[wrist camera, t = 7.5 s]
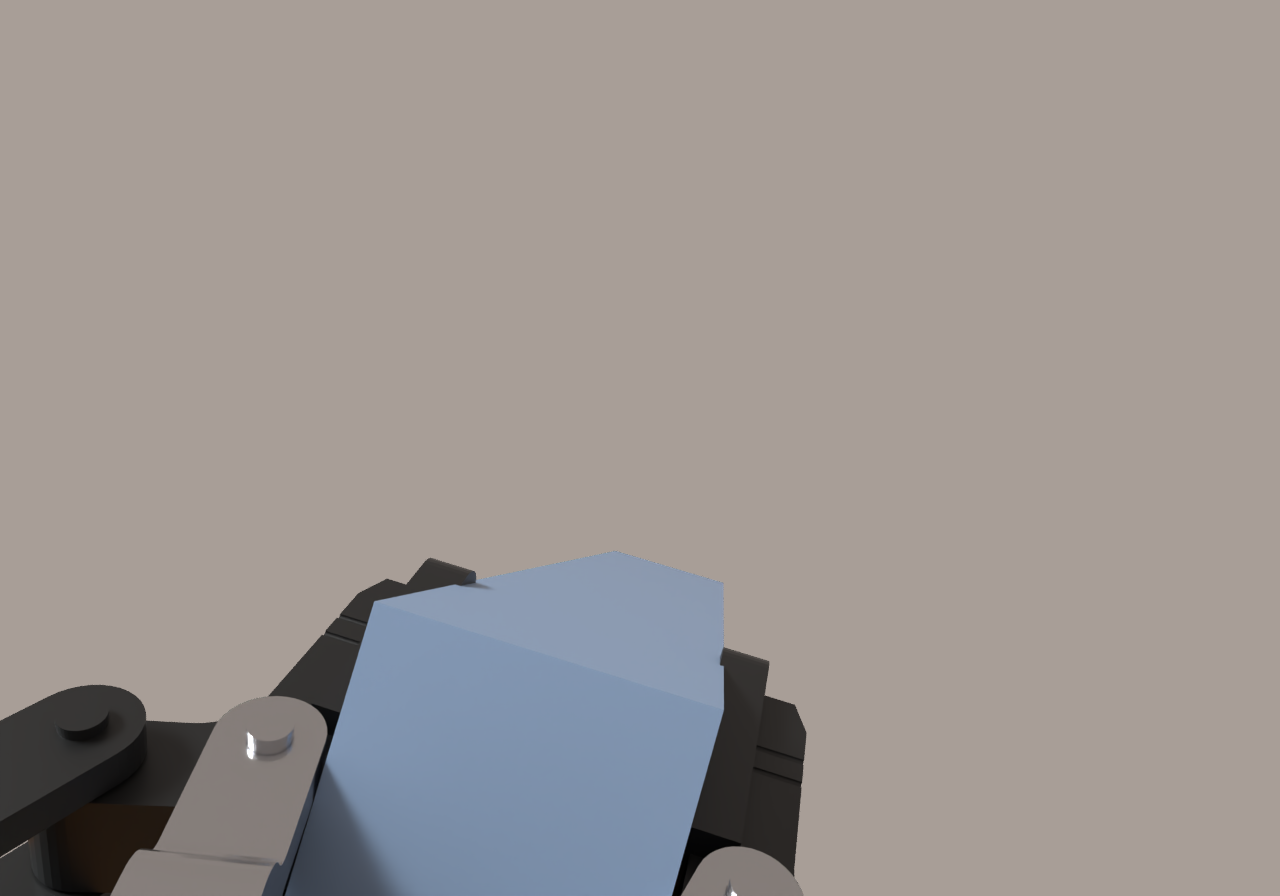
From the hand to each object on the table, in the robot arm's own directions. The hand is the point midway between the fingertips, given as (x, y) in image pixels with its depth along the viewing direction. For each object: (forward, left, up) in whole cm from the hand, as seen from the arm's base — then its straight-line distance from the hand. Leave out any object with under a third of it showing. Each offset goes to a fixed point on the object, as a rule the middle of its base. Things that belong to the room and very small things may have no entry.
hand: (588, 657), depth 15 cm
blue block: (0, +8, -3) cm, 8 cm away
